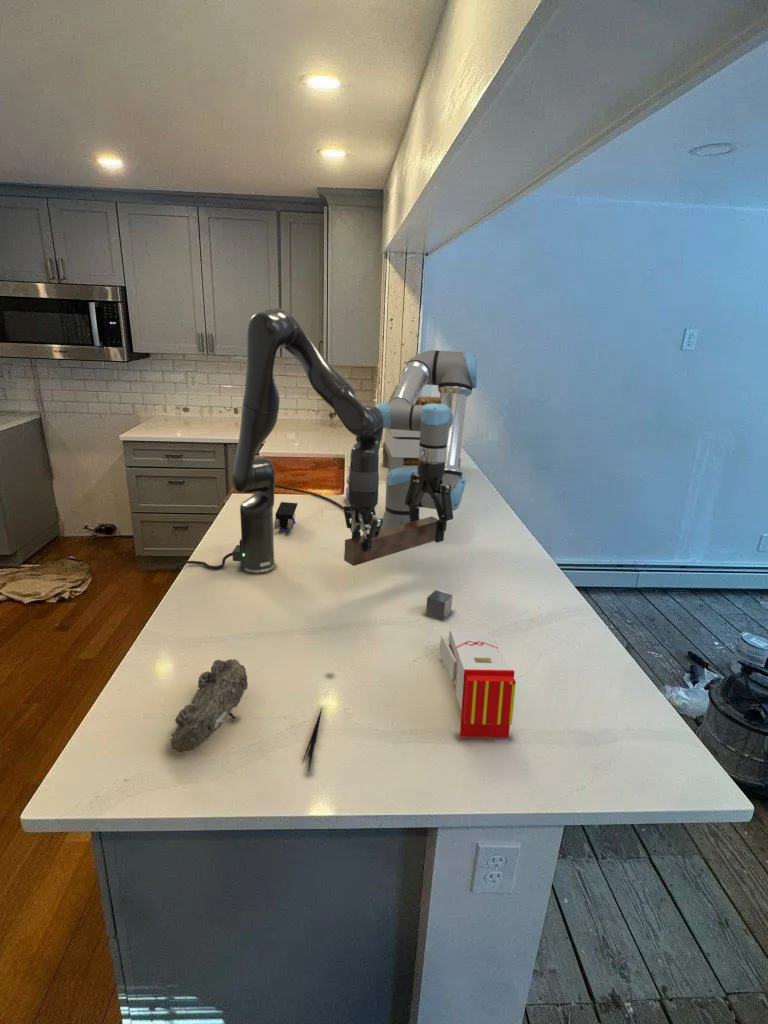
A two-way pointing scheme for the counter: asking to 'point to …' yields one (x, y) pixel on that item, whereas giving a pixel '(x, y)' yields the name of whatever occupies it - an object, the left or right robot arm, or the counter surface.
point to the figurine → (347, 488)
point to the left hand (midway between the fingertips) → (361, 548)
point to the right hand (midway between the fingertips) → (426, 535)
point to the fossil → (210, 704)
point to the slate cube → (439, 604)
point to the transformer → (405, 442)
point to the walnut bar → (391, 541)
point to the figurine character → (285, 516)
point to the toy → (479, 682)
